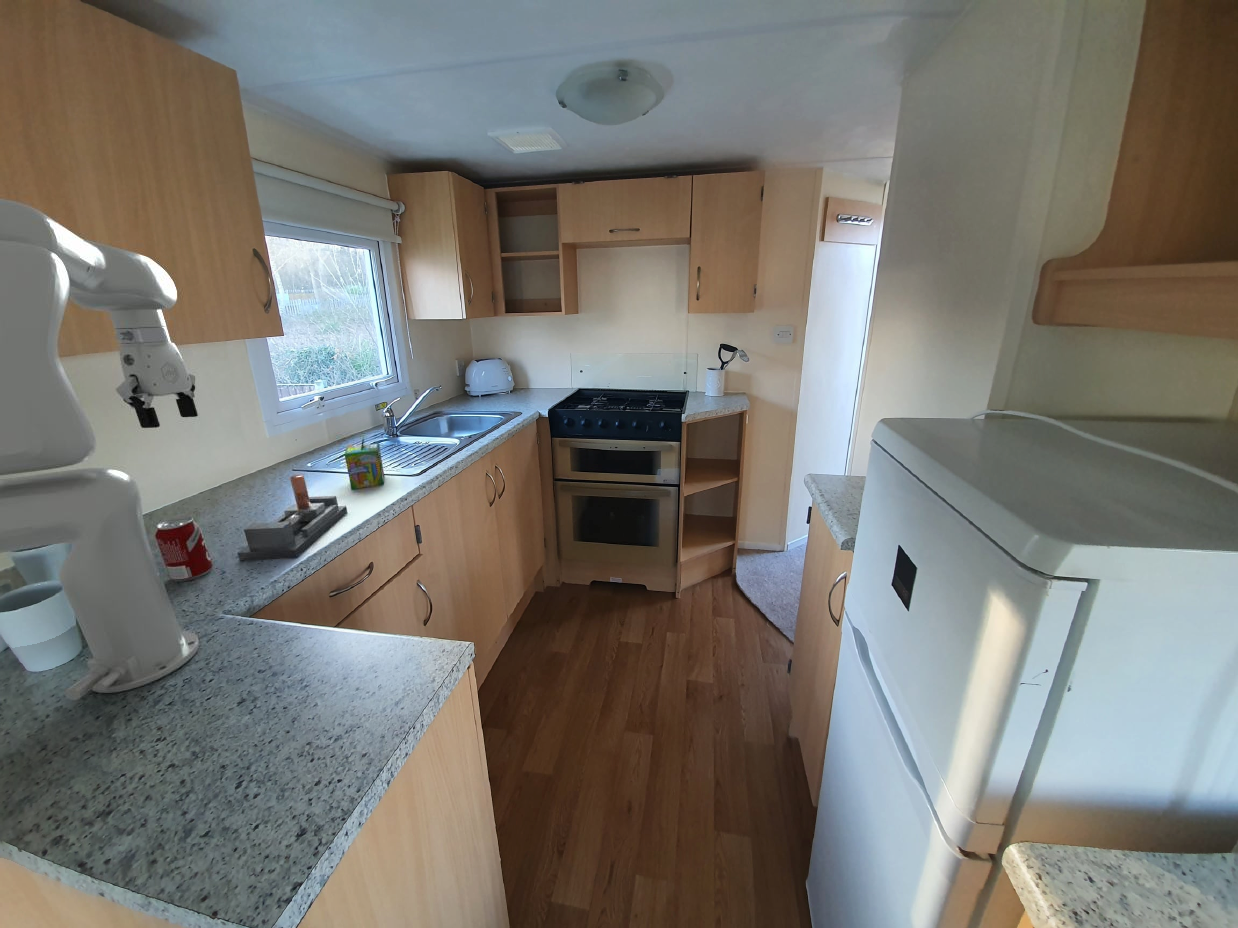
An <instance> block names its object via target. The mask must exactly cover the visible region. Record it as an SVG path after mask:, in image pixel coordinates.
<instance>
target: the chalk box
mask: <svg viewBox="0 0 1238 928" xmlns="http://www.w3.org/2000/svg"><path fill="white" fill-rule="evenodd" d="M364 441H365V435H362V440H361V444H353V445H346V447H345V452H344V459H345V464H346V469H347V474H348V478H349V484H350V489H351V490H357V489H363V488H371V487H379V486H384V484H385V472H384V466H383V459H382V455H381V454H382V453H381V448H380V442H374V443H373V442H371V443H365V442H364Z"/></svg>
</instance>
